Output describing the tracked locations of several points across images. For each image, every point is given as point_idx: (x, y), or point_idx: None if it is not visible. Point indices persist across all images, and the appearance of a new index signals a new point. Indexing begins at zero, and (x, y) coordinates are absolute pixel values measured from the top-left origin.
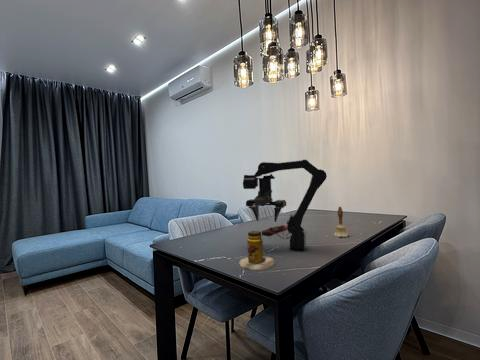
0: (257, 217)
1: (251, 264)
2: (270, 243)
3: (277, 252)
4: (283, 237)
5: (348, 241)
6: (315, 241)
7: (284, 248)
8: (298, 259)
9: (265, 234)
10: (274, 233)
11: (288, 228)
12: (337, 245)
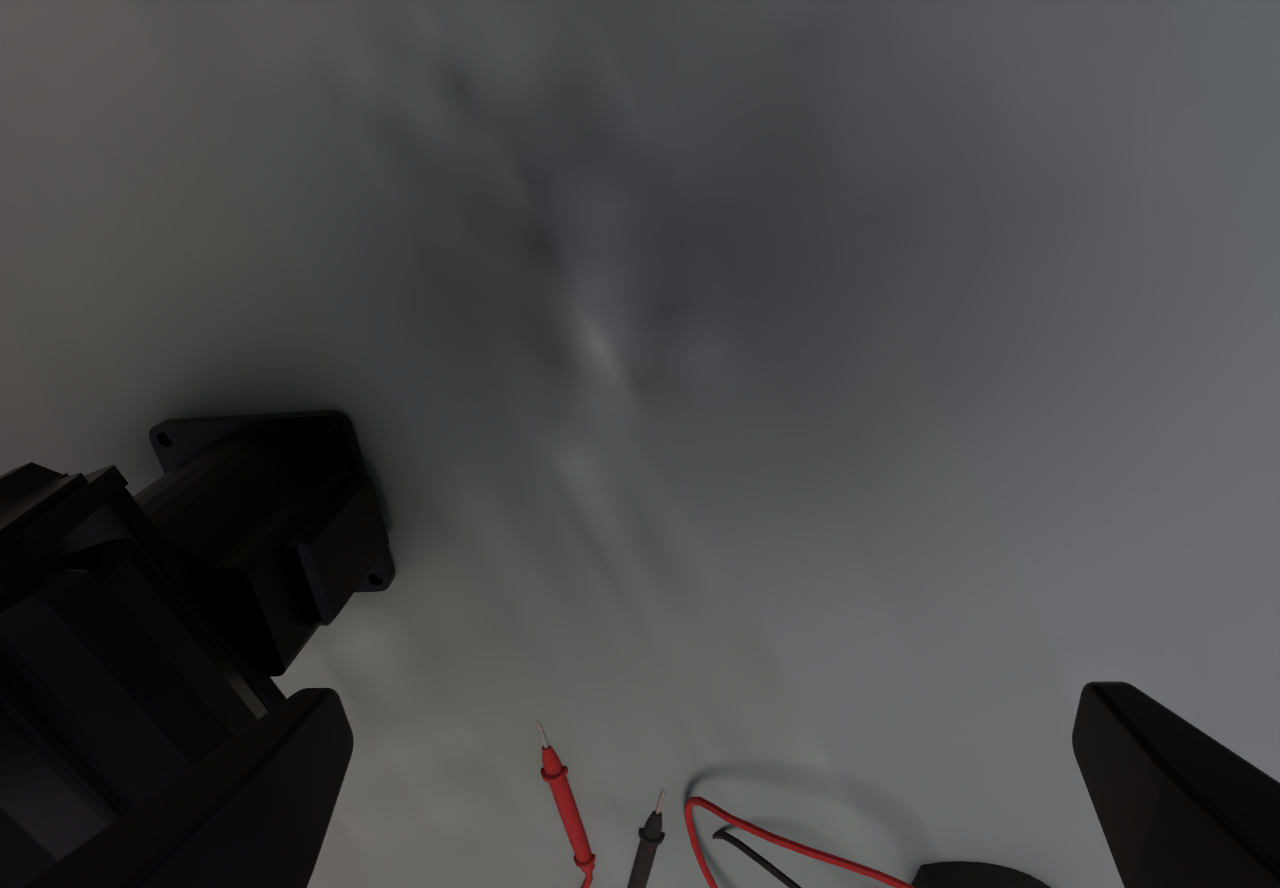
0: (1168, 817)
1: None
2: (761, 589)
3: (441, 221)
4: (688, 830)
5: None
6: None
7: (457, 450)
8: None
9: (989, 881)
10: (800, 845)
11: (47, 575)
12: None
